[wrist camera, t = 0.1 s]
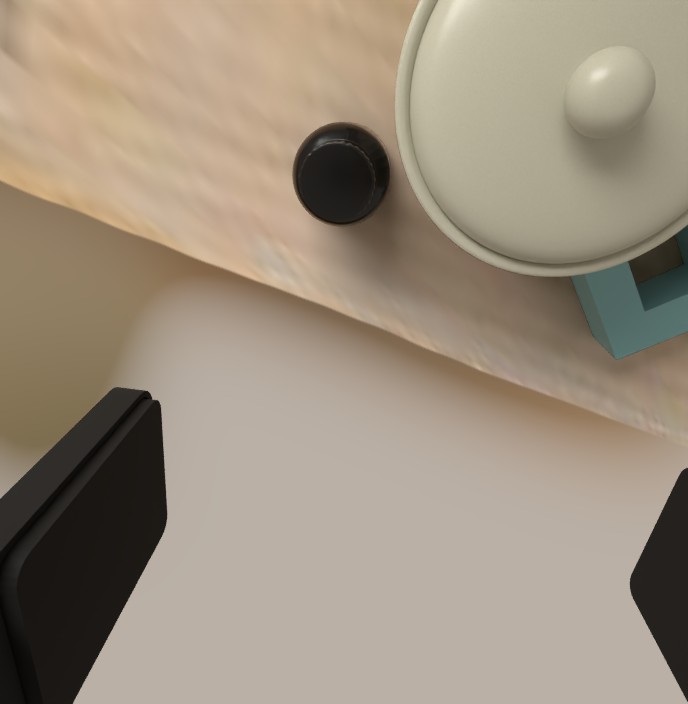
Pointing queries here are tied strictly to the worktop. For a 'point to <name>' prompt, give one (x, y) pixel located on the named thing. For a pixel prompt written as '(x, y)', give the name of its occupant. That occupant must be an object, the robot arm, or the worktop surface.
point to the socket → (635, 305)
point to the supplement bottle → (342, 174)
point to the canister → (547, 128)
